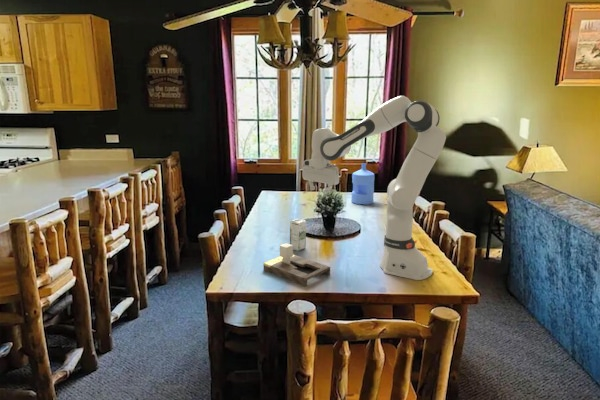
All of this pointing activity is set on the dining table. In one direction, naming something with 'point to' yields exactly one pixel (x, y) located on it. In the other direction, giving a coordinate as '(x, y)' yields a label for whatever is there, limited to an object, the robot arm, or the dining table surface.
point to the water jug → (363, 186)
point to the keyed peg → (286, 253)
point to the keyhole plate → (295, 269)
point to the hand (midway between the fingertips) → (320, 191)
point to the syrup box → (298, 234)
